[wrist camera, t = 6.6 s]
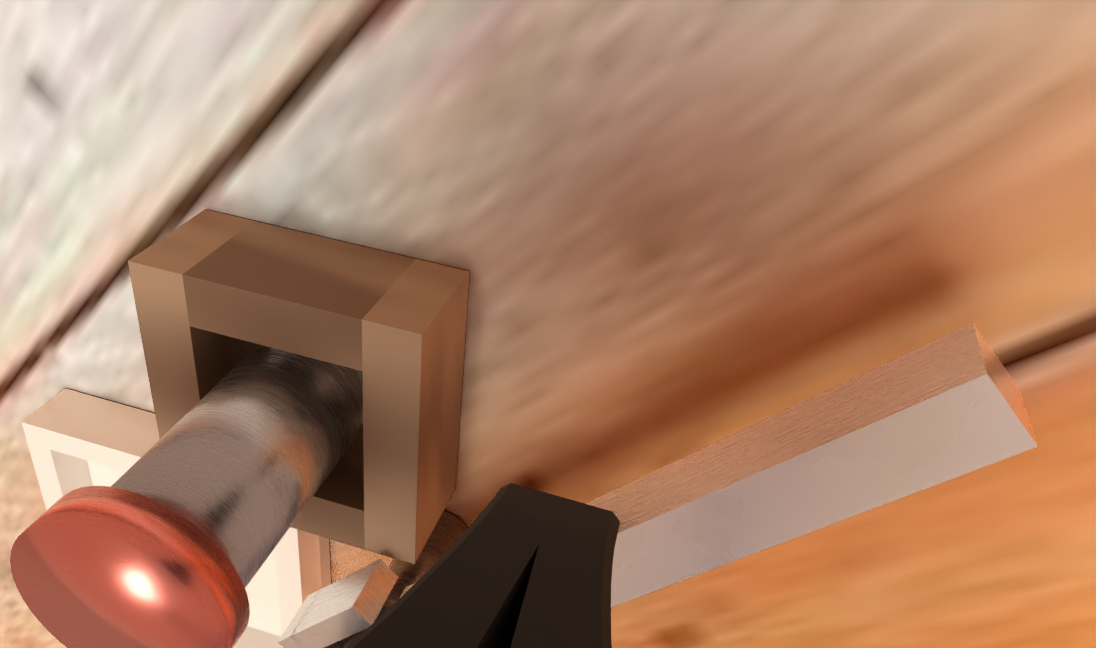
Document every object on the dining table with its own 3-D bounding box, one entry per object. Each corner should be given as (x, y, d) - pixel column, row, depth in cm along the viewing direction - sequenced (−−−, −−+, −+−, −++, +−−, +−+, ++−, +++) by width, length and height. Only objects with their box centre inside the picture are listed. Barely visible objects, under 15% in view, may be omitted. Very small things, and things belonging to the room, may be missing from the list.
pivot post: (481, 573, 27) (391, 773, 21) (402, 549, 27) (294, 740, 22) (486, 512, 25) (392, 710, 20) (403, 488, 26) (288, 675, 20)
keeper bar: (399, 681, 25) (375, 731, 23) (308, 595, 24) (277, 642, 22) (1049, 432, 15) (1070, 491, 14) (941, 276, 14) (951, 324, 13)
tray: (334, 651, 31) (309, 695, 29) (112, 580, 32) (77, 618, 31) (325, 461, 26) (294, 502, 24) (65, 388, 27) (21, 422, 26)
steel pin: (411, 438, 24) (230, 717, 17) (270, 400, 25) (38, 651, 18) (415, 306, 22) (206, 564, 15) (258, 268, 23) (-15, 495, 15)
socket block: (455, 488, 25) (414, 564, 23) (231, 425, 26) (168, 490, 24) (470, 271, 21) (422, 334, 19) (205, 209, 22) (127, 260, 20)
